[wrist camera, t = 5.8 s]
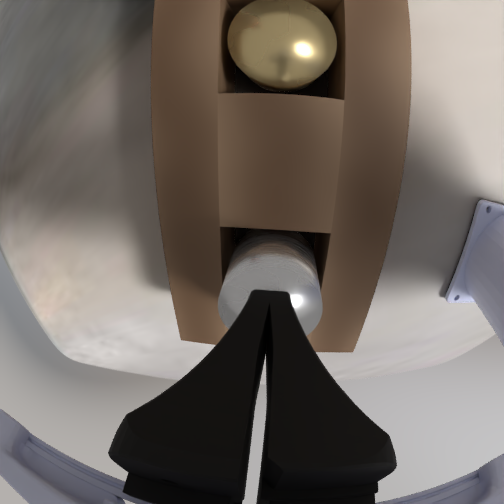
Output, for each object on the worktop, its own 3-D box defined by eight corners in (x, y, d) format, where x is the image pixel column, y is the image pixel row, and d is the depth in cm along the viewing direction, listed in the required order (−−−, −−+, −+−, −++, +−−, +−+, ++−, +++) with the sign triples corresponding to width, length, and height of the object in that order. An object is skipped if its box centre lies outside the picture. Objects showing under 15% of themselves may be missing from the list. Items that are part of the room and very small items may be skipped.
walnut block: (376, -7, 8) (402, -34, 5) (343, 308, 18) (353, 352, 14) (188, -14, 9) (160, -43, 5) (197, 298, 19) (181, 339, 15)
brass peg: (323, 24, 10) (335, 1, 6) (322, 96, 11) (335, 91, 8) (241, 21, 10) (228, -4, 7) (240, 91, 12) (226, 86, 9)
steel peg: (319, 228, 12) (331, 270, 9) (309, 298, 14) (313, 348, 11) (231, 222, 13) (214, 263, 10) (233, 293, 15) (220, 341, 12)
